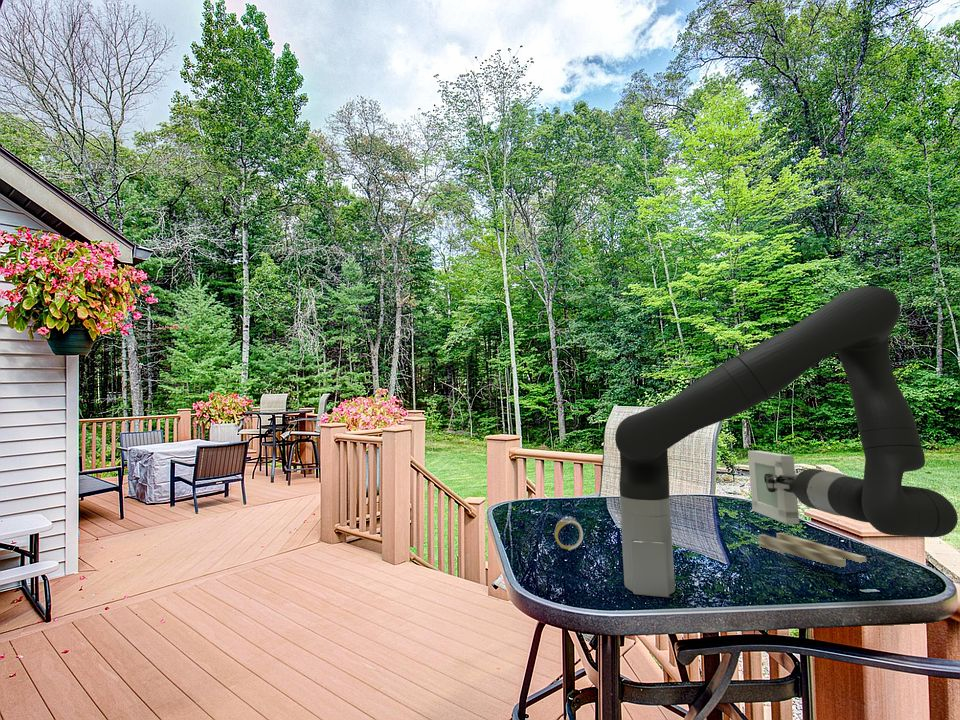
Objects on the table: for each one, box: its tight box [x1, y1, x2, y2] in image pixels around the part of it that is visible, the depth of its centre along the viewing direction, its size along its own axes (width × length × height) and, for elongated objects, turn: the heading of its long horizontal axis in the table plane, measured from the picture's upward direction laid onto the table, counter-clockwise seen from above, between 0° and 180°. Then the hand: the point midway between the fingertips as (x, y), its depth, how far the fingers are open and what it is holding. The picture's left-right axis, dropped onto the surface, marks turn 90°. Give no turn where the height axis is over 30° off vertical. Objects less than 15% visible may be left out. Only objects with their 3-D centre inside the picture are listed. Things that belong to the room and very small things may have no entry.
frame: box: [747, 450, 800, 525], centre depth 103 cm, size 13×3×14 cm, turn 178°
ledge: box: [758, 532, 867, 568], centre depth 104 cm, size 20×7×3 cm, turn 14°
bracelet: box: [554, 515, 584, 551], centre depth 114 cm, size 7×3×8 cm, turn 89°
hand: (773, 478), depth 102 cm, fingers closed on frame, 2 cm apart
